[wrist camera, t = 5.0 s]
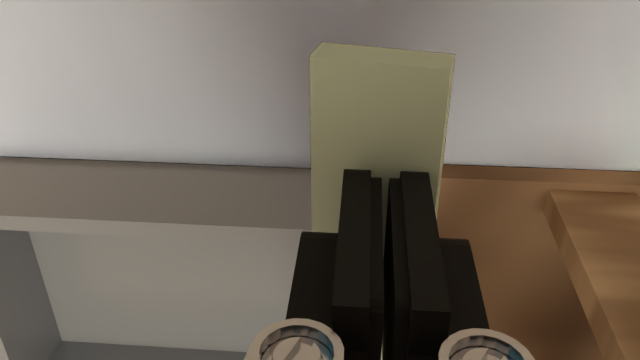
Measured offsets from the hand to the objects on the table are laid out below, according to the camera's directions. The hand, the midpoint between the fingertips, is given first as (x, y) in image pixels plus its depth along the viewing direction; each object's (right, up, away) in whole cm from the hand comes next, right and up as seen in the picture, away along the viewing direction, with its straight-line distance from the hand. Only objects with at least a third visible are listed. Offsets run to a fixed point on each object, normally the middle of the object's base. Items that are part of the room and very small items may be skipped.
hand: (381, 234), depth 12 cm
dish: (-7, -3, +14) cm, 16 cm away
